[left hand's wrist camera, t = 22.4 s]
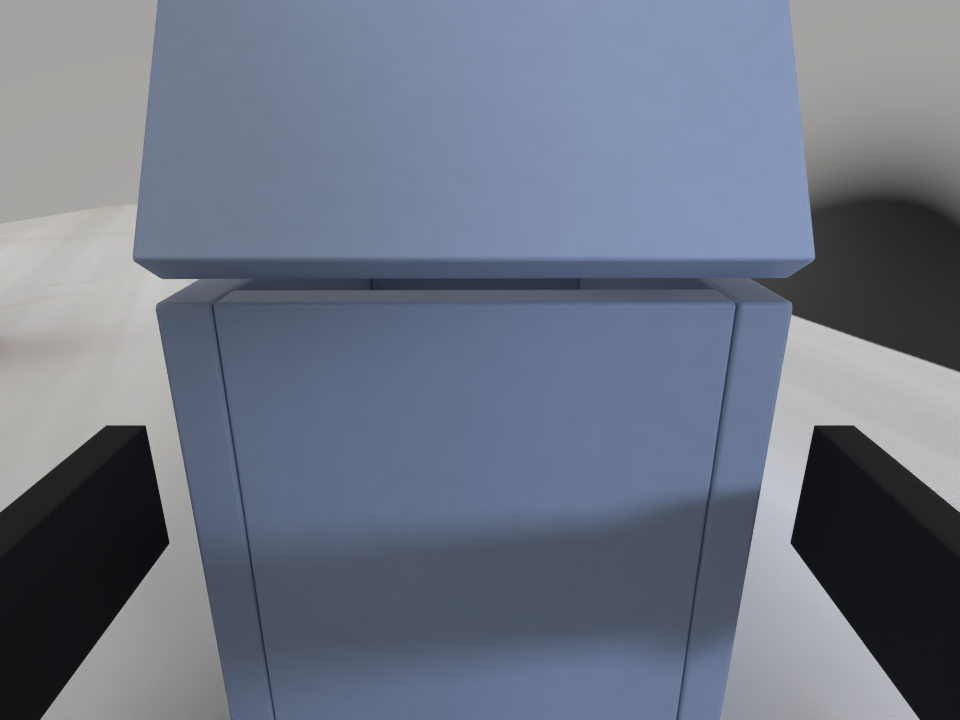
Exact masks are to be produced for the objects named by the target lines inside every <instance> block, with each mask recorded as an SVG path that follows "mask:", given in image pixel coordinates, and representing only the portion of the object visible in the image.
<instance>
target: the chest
mask: <svg viewBox="0 0 960 720" xmlns="http://www.w3.org/2000/svg"><path fill="white" fill-rule="evenodd" d="M156 313H157V318H158V324H159V329H160V335H161V340H162V346H163V351H164V357H165V362H166V367H167V373H168V378H169V384H170V389H171V395H172V400H173V406H174V411H175V416H176V422H177V427H178V433H179V438H180V444H181V449H182V455H183V460H184V466H185V471H186V476H187V482H188V487H189V493H190V498H191V504H192V509H193V515H194V520H195V525H196V531H197V536H198V542H199V547H200V553H201V558H202V564H203V569H204V575H205V580H206V585H207V591H208V596H209V602H210V607H211V613H212V618H213V624H214V629H215V634H216V640H217V645H218V651H219V656H220V662H221V667H222V673H223V678H224V684H225V689H226V694H227V700H228V705H229V711H230V716H231V720H720V716H721V710H722V704H723V699H724V693H725V687H726V682H727V676H728V670H729V665H730V659H731V653H732V648H733V642H734V636H735V631H736V625H737V619H738V614H739V608H740V602H741V597H742V591H743V585H744V580H745V574H746V568H747V563H748V557H749V551H750V546H751V540H752V534H753V529H754V523H755V517H756V512H757V506H758V500H759V495H760V489H761V483H762V478H763V472H764V466H765V461H766V455H767V449H768V444H769V438H770V432H771V427H772V421H773V415H774V410H775V404H776V398H777V393H778V387H779V381H780V376H781V370H782V364H783V359H784V353H785V347H786V342H787V336H788V330H789V325H790V319H791V313H792V304H791V302H789V301H788V300H786V299H784V298H782V297H781V296H779V295H777V294H775V293H774V292H772V291H770V290H768V289H767V288H765V287H763V286H762V285H760V284H758V283H756V282H755V281H753V280H751V279H749V278H383V279H199V280H198V281H196V282H194V283H192V284H191V285H189V286H187V287H185V288H184V289H182V290H180V291H179V292H177V293H175V294H173V295H172V296H170V297H168V298H166V299H165V300H163V301H161V302H159V303H158V304H157V305H156Z"/></svg>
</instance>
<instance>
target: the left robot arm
mask: <svg viewBox="0 0 960 720" xmlns="http://www.w3.org/2000/svg"><path fill="white" fill-rule="evenodd" d="M168 544H169V538H168V533H167V529H166V524H165V519H164V514H163V509H162V504H161V499H160V494H159V489H158V484H157V480H156V475H155V470H154V465H153V460H152V455H151V450H150V445H149V440H148V435H147V430H146V426H105V427H104V428H103V429H102V430H100V431H99V432H98V433H97V434H96V435H94V436H93V437H92V438H91V439H89V440H88V441H87V442H86V443H85V444H83V445H82V446H81V447H80V448H78V449H77V450H76V451H75V452H74V453H72V454H71V455H70V456H69V457H67V458H66V459H65V460H64V461H63V462H61V463H60V464H59V465H58V466H56V467H55V468H54V469H53V470H52V471H50V472H49V473H48V474H47V475H45V476H44V477H43V478H42V479H41V480H39V481H38V482H37V483H36V484H35V485H33V486H32V487H31V488H30V489H28V490H27V491H26V492H25V493H24V494H22V495H21V496H20V497H19V498H17V499H16V500H15V501H14V502H13V503H11V504H10V505H9V506H8V507H6V508H5V509H4V510H3V511H2V512H0V720H40V719H41V718H42V716H43V715H44V714H45V712H46V711H47V710H48V708H49V707H50V705H51V704H52V703H53V701H54V700H55V699H56V697H57V696H58V695H59V693H60V692H61V690H62V689H63V688H64V686H65V685H66V684H67V682H68V681H69V680H70V678H71V677H72V675H73V674H74V673H75V671H76V670H77V669H78V667H79V666H80V665H81V663H82V662H83V660H84V659H85V658H86V656H87V655H88V654H89V652H90V651H91V650H92V648H93V647H94V645H95V644H96V643H97V641H98V640H99V639H100V637H101V636H102V635H103V633H104V632H105V630H106V629H107V628H108V626H109V625H110V624H111V622H112V621H113V620H114V618H115V617H116V615H117V614H118V613H119V611H120V610H121V609H122V607H123V606H124V604H125V603H126V602H127V600H128V599H129V598H130V596H131V595H132V594H133V592H134V591H135V589H136V588H137V587H138V585H139V584H140V583H141V581H142V580H143V579H144V577H145V576H146V574H147V573H148V572H149V570H150V569H151V568H152V566H153V565H154V564H155V562H156V561H157V559H158V558H159V557H160V555H161V554H162V553H163V551H164V550H165V549H166V547H167V546H168ZM791 544H792V546H793V547H794V549H795V550H796V551H797V553H798V554H799V555H800V557H801V558H802V559H803V561H804V562H805V564H806V565H807V566H808V568H809V569H810V570H811V572H812V573H813V574H814V576H815V577H816V579H817V580H818V581H819V583H820V584H821V585H822V587H823V588H824V589H825V591H826V592H827V594H828V595H829V596H830V598H831V599H832V600H833V602H834V603H835V604H836V606H837V607H838V609H839V610H840V611H841V613H842V614H843V615H844V617H845V618H846V620H847V621H848V622H849V624H850V625H851V626H852V628H853V629H854V630H855V632H856V633H857V635H858V636H859V637H860V639H861V640H862V641H863V643H864V644H865V645H866V647H867V648H868V650H869V651H870V652H871V654H872V655H873V656H874V658H875V659H876V660H877V662H878V663H879V665H880V666H881V667H882V669H883V670H884V671H885V673H886V674H887V675H888V677H889V678H890V680H891V681H892V682H893V684H894V685H895V686H896V688H897V689H898V690H899V692H900V693H901V695H902V696H903V697H904V699H905V700H906V701H907V703H908V704H909V705H910V707H911V708H912V710H913V711H914V712H915V714H916V715H917V716H918V718H919V719H920V720H960V512H958V511H957V510H956V509H955V508H954V507H952V506H951V505H950V504H949V503H947V502H946V501H945V500H944V499H943V498H941V497H940V496H939V495H938V494H936V493H935V492H934V491H933V490H932V489H930V488H929V487H928V486H927V485H925V484H924V483H923V482H922V481H921V480H919V479H918V478H917V477H916V476H915V475H913V474H912V473H911V472H910V471H908V470H907V469H906V468H905V467H904V466H902V465H901V464H900V463H899V462H897V461H896V460H895V459H894V458H893V457H891V456H890V455H889V454H888V453H886V452H885V451H884V450H883V449H882V448H880V447H879V446H878V445H877V444H875V443H874V442H873V441H872V440H871V439H869V438H868V437H867V436H866V435H864V434H863V433H862V432H861V431H860V430H858V429H857V428H856V427H855V426H814V430H813V435H812V440H811V445H810V450H809V455H808V460H807V465H806V470H805V475H804V480H803V484H802V489H801V494H800V499H799V504H798V509H797V514H796V519H795V524H794V529H793V534H792V538H791Z"/></svg>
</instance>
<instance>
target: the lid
mask: <svg viewBox="0 0 960 720" xmlns="http://www.w3.org/2000/svg"><path fill="white" fill-rule="evenodd" d="M814 257H815V252H814V242H813V233H812V223H811V213H810V203H809V194H808V184H807V174H806V164H805V154H804V145H803V135H802V125H801V116H800V106H799V96H798V86H797V76H796V67H795V57H794V47H793V38H792V28H791V18H790V8H789V0H158V5H157V15H156V25H155V36H154V46H153V56H152V66H151V76H150V87H149V97H148V107H147V117H146V127H145V138H144V148H143V158H142V168H141V179H140V189H139V199H138V209H137V219H136V229H135V240H134V250H133V260H134V262H136V263H137V264H139V265H141V266H142V267H144V268H145V269H147V270H149V271H150V272H152V273H153V274H155V275H156V276H158V277H160V278H162V279H383V278H786V277H788V276H790V275H792V274H793V273H795V272H796V271H798V270H799V269H801V268H802V267H804V266H806V265H807V264H809V263H810V262H812V261H813V260H814Z"/></svg>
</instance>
